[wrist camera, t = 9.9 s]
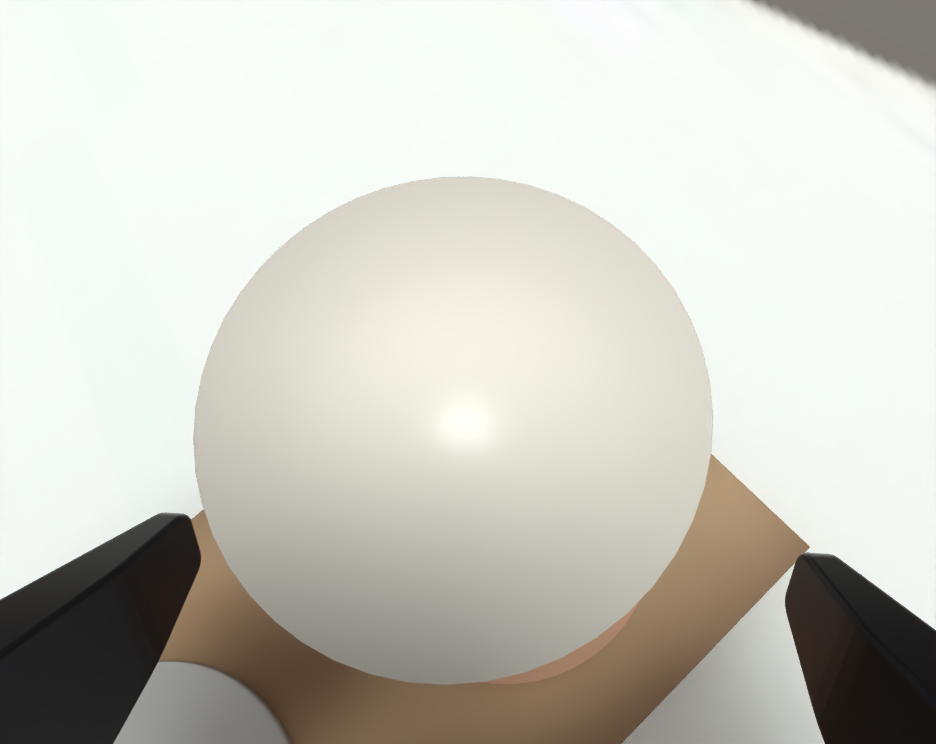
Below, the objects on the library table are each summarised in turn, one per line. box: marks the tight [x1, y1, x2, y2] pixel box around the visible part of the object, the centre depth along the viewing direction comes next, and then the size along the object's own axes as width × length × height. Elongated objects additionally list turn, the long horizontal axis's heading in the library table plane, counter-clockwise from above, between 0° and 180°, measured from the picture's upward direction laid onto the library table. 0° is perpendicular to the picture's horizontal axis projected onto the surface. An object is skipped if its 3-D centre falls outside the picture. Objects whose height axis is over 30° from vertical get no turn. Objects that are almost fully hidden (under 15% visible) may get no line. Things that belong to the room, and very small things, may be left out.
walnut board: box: [159, 454, 810, 744], centre depth 17 cm, size 13×25×1 cm, turn 131°
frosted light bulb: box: [193, 177, 713, 685], centre depth 11 cm, size 4×4×13 cm
